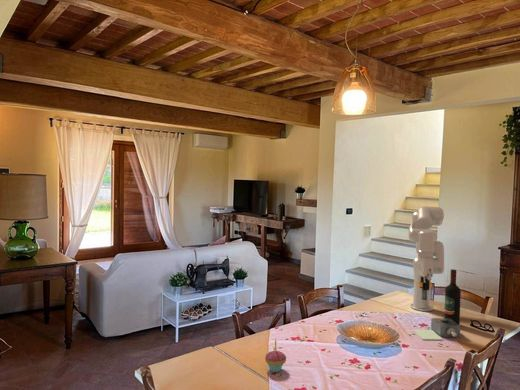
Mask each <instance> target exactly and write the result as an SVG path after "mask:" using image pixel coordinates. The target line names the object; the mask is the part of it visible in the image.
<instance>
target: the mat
mask: <svg viewBox="0 0 520 390" xmlns="http://www.w3.org/2000/svg"><path fill="white" fill-rule="evenodd" d="M412 331H413V332H414V334H416V335H417V337H419V338H420V339H421V340H422V341H444V339H443V337H440V336H439V335H437V334H436V333H435V332H434V331H433V330H431V329H412Z"/></svg>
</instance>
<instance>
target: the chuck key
mask: <svg viewBox="0 0 520 390" xmlns="http://www.w3.org/2000/svg"><path fill="white" fill-rule="evenodd" d="M417 286H419V287H422V300H427V290H423V282H417ZM429 287H431V288H433V282H432V281H431V282H430V283H429Z"/></svg>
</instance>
